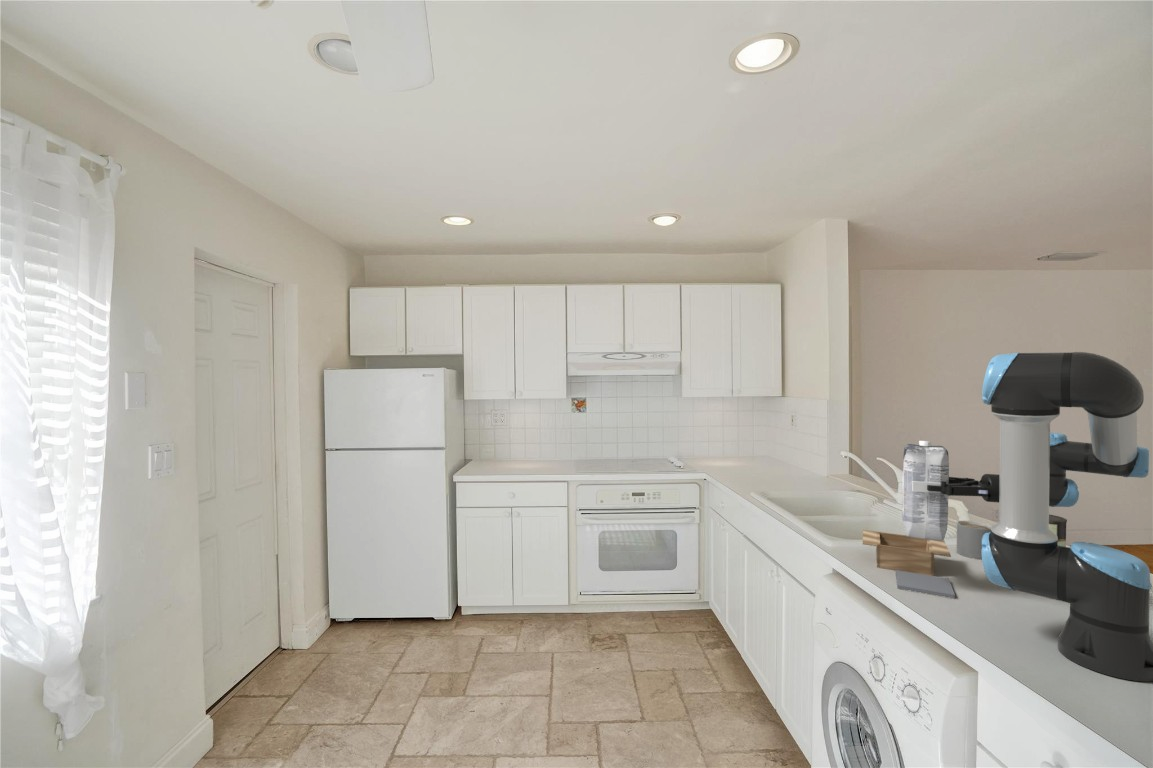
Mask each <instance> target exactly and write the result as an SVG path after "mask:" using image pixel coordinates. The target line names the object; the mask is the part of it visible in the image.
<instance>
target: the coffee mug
mask: <svg viewBox="0 0 1153 768" xmlns="http://www.w3.org/2000/svg"><path fill="white" fill-rule="evenodd" d="M992 526H993V525H991V524H988V523H986V522H981V521H975V520H958V521H957V522H956V549H955V550H956V553H957V554H959V555H960V556H962V557H965V558H970V559H973V558H974V559H975V560H980V559H981V560H980V561H982V553H981V549H982V537H983V535H984V534H985V533H989V532H991V527H992Z"/></svg>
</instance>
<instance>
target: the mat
mask: <svg viewBox="0 0 1153 768" xmlns="http://www.w3.org/2000/svg"><path fill="white" fill-rule="evenodd" d="M895 579H896V580H897V581H896V587H897V589H898V588H899V589H898V590H902V589H905V590H904V591H908V590H911V591H910V592H914V591H916V592H915V593H919V592H921V594H925V593H927V594H926V595H931V594H932V595H931V596H936V595H938V596H937V597H942V596H945V597H944V598H948V597H951V598H950V599H954V598H956V597H955V596H956V595H955V592H954V590H953V587H952V584H951V582H950V580H949V578H947V577H942V576H941V577H940V576H936V575H934V576H930V575H924V574H918V573H912V572H905V571H899V570H895Z"/></svg>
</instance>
